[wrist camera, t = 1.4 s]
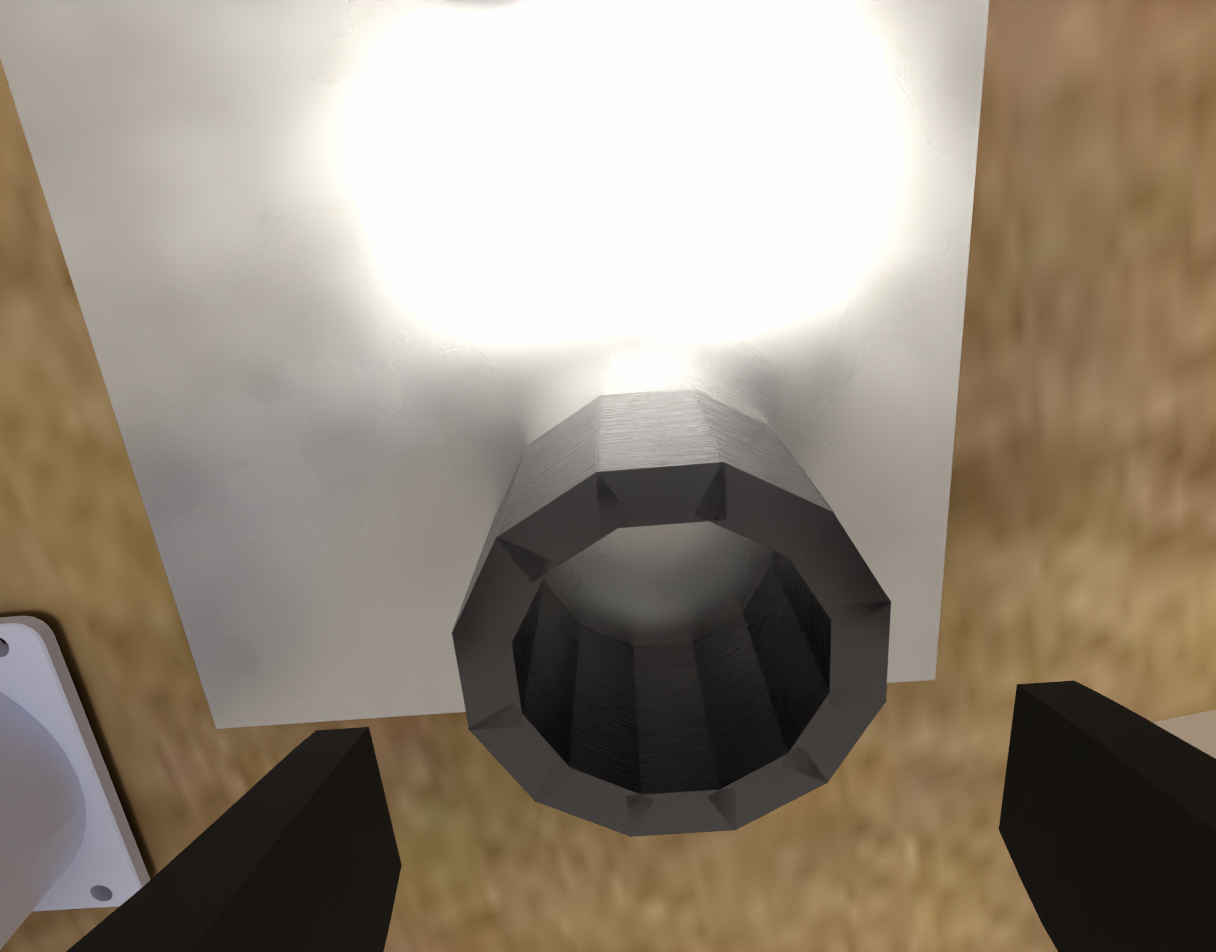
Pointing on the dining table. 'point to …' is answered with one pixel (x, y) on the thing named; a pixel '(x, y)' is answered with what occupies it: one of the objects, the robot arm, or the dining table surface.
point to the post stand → (499, 296)
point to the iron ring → (679, 672)
